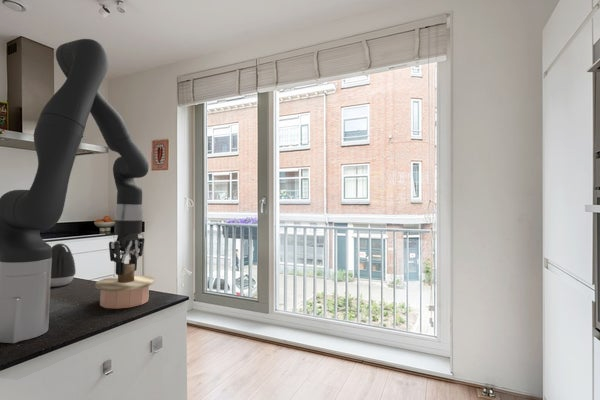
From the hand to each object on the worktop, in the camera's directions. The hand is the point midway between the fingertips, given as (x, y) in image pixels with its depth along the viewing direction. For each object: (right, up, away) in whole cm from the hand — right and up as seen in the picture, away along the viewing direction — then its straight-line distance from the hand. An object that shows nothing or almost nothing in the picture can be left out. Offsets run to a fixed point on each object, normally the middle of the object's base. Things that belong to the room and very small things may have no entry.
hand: (126, 272), depth 98 cm
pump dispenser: (-35, -9, +17) cm, 39 cm away
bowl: (0, -9, 0) cm, 9 cm away
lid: (0, -4, 0) cm, 4 cm away
